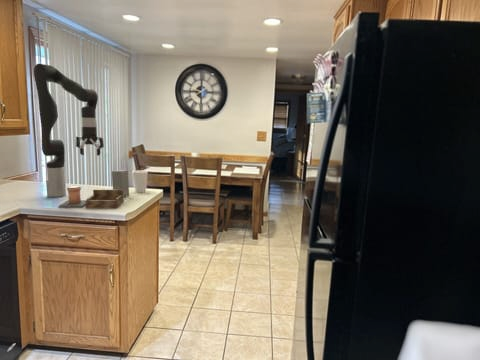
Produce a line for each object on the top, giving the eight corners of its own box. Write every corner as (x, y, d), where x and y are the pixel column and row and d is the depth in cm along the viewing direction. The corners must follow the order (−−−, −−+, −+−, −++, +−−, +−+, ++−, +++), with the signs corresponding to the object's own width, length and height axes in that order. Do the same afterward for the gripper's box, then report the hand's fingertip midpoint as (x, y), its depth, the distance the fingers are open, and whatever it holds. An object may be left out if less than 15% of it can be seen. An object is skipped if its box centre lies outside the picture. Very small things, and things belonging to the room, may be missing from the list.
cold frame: (85, 208, 180) (85, 195, 179) (94, 201, 194) (93, 189, 192) (117, 208, 181) (116, 195, 180) (123, 201, 195) (123, 189, 194)
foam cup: (134, 189, 228) (134, 170, 226) (148, 189, 229) (148, 170, 227) (131, 192, 219) (130, 172, 217) (146, 192, 220) (145, 172, 217)
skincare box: (122, 197, 205) (121, 171, 202) (111, 196, 206) (110, 170, 203) (129, 194, 213) (129, 169, 210) (119, 194, 214) (118, 168, 211)
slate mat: (58, 207, 179) (58, 205, 179) (67, 202, 191) (67, 200, 191) (82, 207, 181) (82, 205, 180) (90, 202, 192) (90, 200, 192)
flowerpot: (66, 204, 182) (65, 188, 181) (70, 201, 189) (69, 186, 187) (79, 204, 183) (78, 188, 181) (83, 201, 189) (82, 186, 188)
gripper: (73, 125, 186) (74, 155, 189) (100, 126, 187) (101, 156, 190) (78, 125, 193) (80, 154, 196) (104, 126, 194) (105, 154, 197)
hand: (90, 155), depth 193 cm, fingers open, 8 cm apart
